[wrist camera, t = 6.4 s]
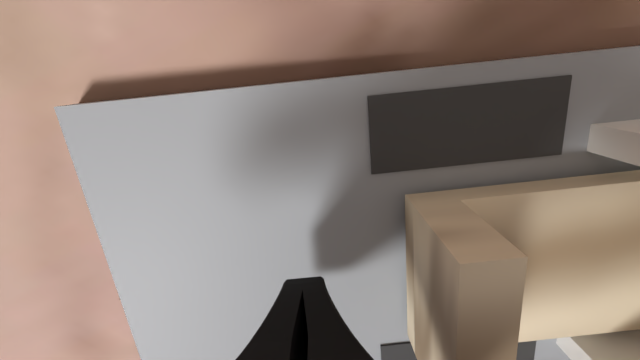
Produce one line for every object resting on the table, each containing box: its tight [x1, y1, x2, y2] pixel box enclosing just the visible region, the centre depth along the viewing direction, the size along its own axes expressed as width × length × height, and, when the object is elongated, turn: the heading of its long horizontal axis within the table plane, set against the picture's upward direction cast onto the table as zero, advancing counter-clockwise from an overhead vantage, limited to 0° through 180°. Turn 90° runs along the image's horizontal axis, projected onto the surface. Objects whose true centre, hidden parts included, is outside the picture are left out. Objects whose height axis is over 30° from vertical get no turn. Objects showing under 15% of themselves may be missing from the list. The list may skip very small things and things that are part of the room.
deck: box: [54, 45, 640, 360], centre depth 14 cm, size 15×34×1 cm, turn 96°
